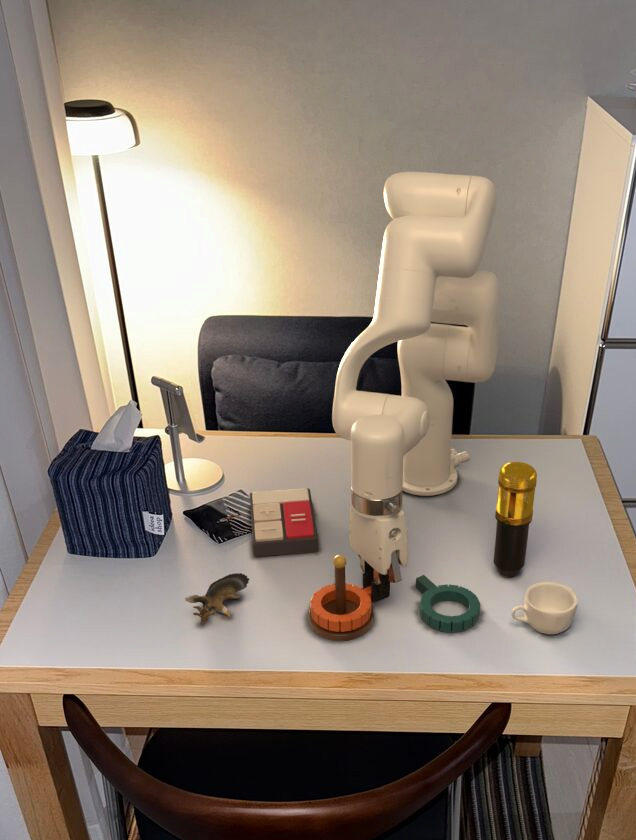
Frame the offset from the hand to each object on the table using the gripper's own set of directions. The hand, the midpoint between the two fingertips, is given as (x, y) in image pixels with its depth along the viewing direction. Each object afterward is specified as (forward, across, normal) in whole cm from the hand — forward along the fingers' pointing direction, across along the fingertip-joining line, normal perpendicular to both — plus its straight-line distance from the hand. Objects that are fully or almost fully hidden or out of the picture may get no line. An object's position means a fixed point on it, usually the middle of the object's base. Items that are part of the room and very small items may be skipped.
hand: (376, 594), depth 143 cm
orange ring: (+1, 0, +5) cm, 5 cm away
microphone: (+2, -6, -26) cm, 27 cm away
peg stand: (+2, 0, +6) cm, 7 cm away
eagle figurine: (+2, +12, +22) cm, 25 cm away
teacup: (+2, -18, -18) cm, 26 cm away
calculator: (+2, +26, +2) cm, 26 cm away
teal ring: (+2, -6, -8) cm, 11 cm away
